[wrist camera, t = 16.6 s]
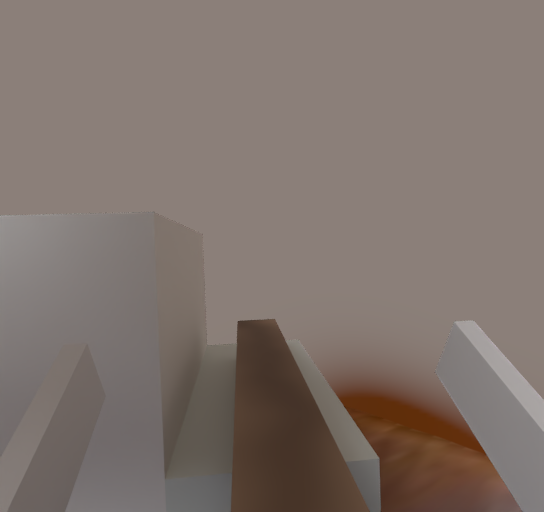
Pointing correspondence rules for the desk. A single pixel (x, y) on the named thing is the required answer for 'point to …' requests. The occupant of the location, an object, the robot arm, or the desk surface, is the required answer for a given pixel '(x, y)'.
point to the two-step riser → (138, 359)
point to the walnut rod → (282, 434)
